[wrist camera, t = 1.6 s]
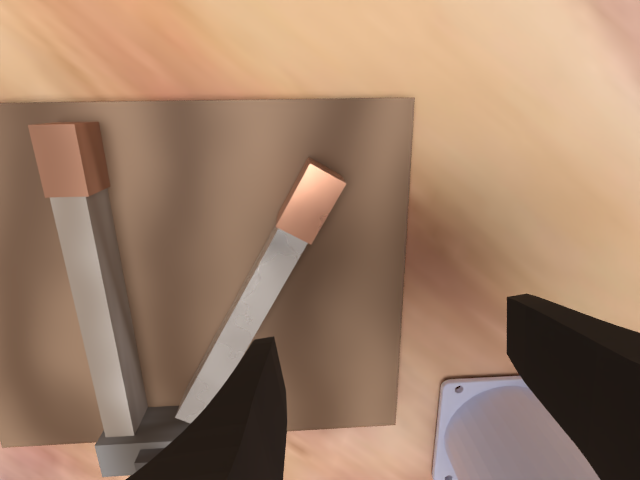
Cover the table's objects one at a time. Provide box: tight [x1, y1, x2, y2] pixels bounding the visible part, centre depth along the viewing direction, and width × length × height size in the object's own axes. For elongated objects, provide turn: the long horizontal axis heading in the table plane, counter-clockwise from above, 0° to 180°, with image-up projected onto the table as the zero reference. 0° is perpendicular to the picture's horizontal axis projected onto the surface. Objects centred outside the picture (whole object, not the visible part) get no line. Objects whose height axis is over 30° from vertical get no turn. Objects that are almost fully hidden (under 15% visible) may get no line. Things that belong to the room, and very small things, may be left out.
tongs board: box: [0, 98, 415, 477], centre depth 19 cm, size 22×18×5 cm
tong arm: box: [175, 157, 346, 424], centre depth 19 cm, size 14×2×2 cm, turn 151°
